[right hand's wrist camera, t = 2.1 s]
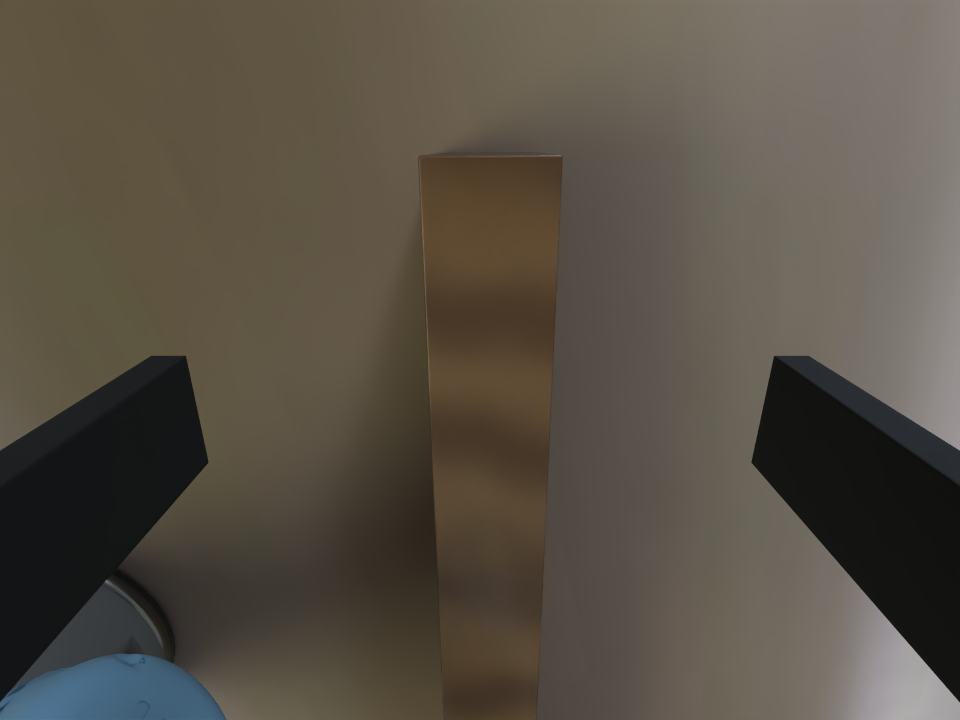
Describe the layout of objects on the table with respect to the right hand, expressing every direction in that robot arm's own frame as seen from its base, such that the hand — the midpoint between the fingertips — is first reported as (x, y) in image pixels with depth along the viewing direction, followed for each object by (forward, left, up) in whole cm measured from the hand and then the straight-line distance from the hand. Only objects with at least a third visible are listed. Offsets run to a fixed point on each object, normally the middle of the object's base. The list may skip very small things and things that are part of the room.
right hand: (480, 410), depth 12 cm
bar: (+18, +20, -18) cm, 32 cm away
